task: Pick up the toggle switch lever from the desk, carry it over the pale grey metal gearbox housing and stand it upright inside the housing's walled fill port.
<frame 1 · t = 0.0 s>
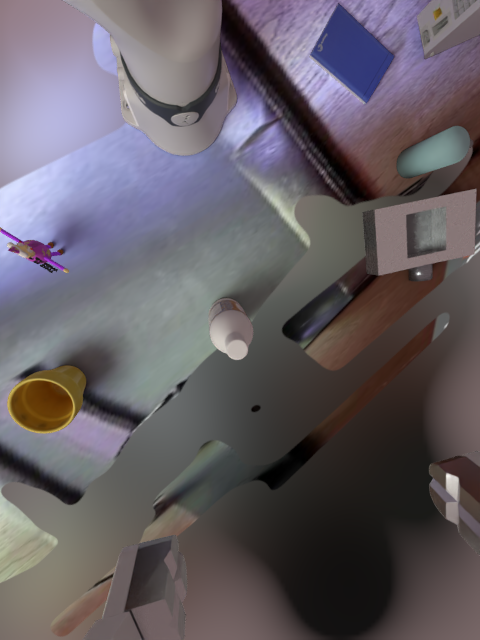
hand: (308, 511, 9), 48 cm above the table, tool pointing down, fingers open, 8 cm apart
hard drive: (348, 60, 49), on the table
game console: (479, 16, 49), on the table
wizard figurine: (55, 251, 50), on the table
bath foam: (225, 314, 56), on the table
plant pot: (69, 379, 56), on the table
toggle switch lever: (409, 163, 53), on the table
gearbox housing: (411, 233, 57), on the table
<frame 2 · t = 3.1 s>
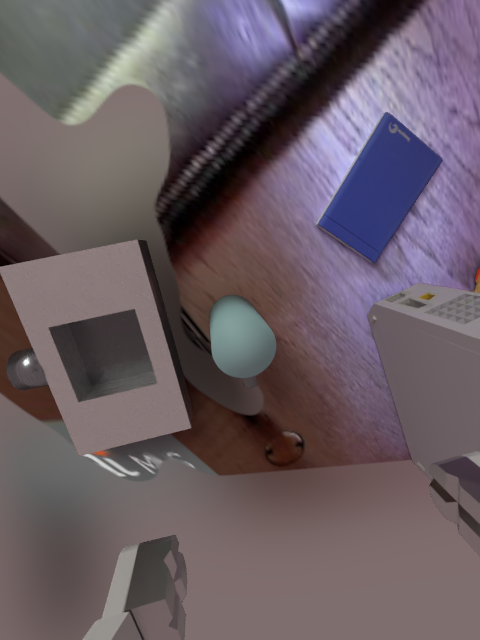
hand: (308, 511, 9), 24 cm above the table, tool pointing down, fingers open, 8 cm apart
hard drive: (372, 194, 31), on the table
game console: (406, 382, 38), on the table
toggle switch lever: (232, 317, 32), on the table
gearbox housing: (117, 343, 31), on the table
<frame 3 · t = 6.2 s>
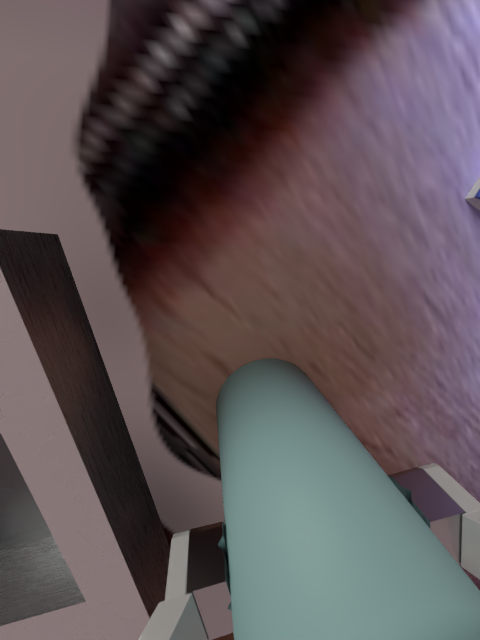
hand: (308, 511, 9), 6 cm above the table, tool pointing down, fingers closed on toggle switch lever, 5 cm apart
toggle switch lever: (266, 405, 15), on the table, touching gripper
gearbox housing: (7, 470, 14), on the table
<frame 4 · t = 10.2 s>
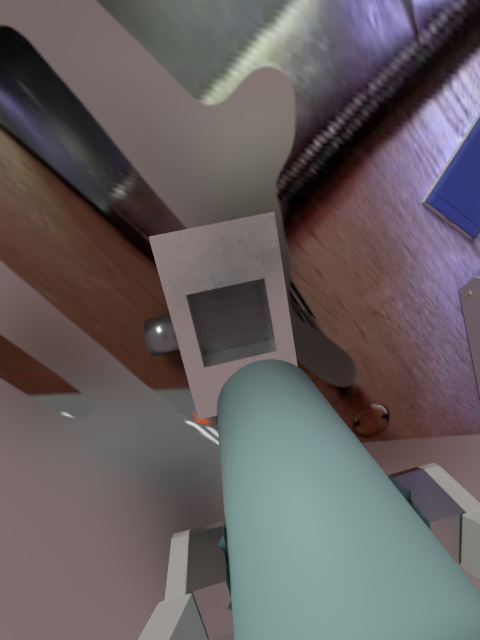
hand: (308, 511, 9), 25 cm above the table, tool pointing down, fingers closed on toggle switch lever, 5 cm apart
hard drive: (472, 173, 33), on the table
toggle switch lever: (267, 406, 15), point 19 cm above the table, touching gripper
gearbox housing: (230, 315, 33), on the table
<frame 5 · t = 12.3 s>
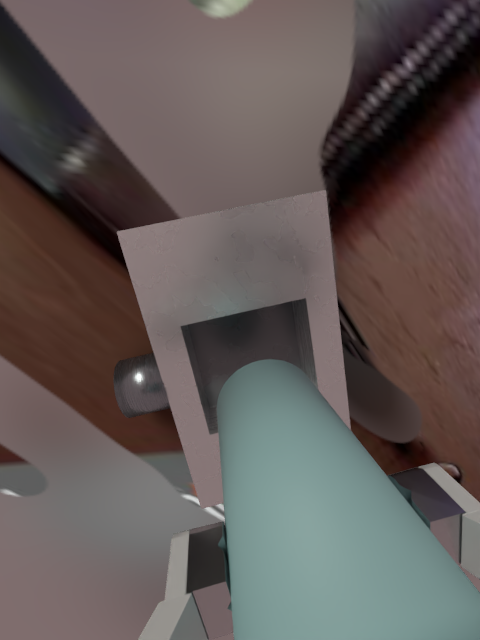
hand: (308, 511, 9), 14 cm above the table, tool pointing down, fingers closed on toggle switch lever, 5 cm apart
toggle switch lever: (266, 406, 15), point 8 cm above the table, touching gripper
gearbox housing: (247, 348, 22), on the table
when the fingers open (8 cm above the table, at t = 14.4 s): toggle switch lever drops 1 cm, resting on gearbox housing.
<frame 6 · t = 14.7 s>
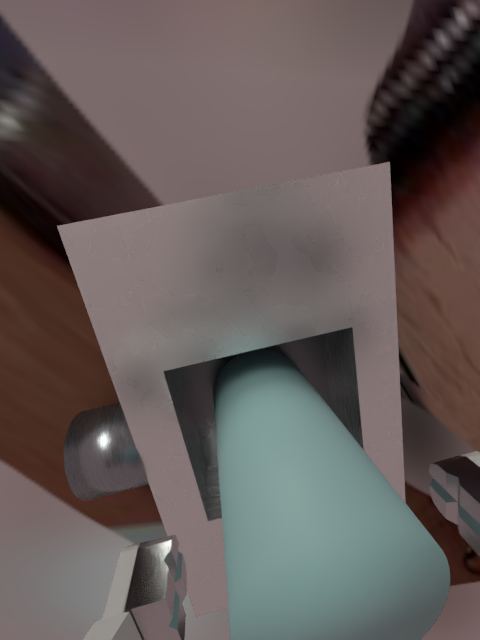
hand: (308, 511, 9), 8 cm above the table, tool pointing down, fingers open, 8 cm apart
toggle switch lever: (259, 392, 16), point 1 cm above the table, touching gearbox housing
gearbox housing: (258, 387, 16), on the table
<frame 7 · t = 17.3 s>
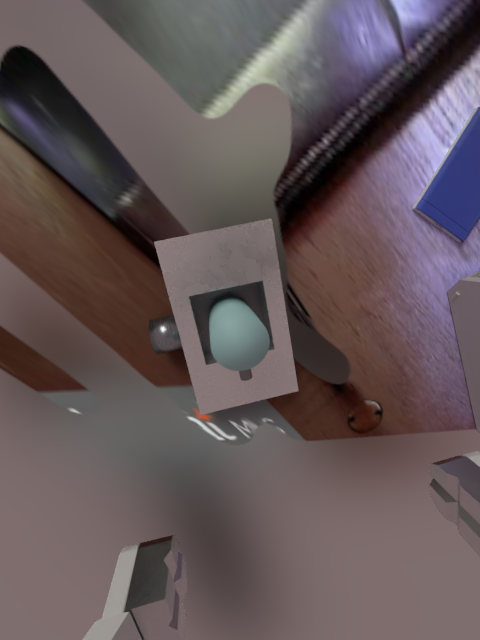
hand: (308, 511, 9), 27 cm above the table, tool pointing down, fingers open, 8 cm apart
hard drive: (460, 180, 35), on the table
game console: (476, 355, 41), on the table
toggle switch lever: (229, 316, 34), resting on gearbox housing
gearbox housing: (230, 315, 35), on the table
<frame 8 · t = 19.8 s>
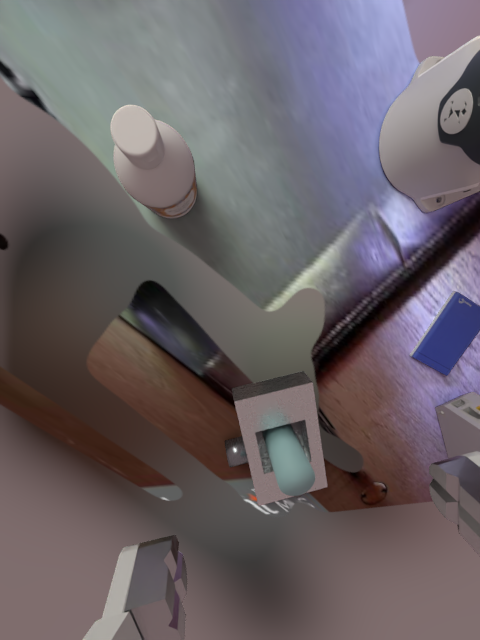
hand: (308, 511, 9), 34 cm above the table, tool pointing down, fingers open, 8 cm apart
hard drive: (444, 332, 48), on the table
game console: (458, 447, 55), on the table
bath foam: (170, 191, 37), on the table
toggle switch lever: (278, 433, 48), resting on gearbox housing
gearbox housing: (277, 431, 48), on the table
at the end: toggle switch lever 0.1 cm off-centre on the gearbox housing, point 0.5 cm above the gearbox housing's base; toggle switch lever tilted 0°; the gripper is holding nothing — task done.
